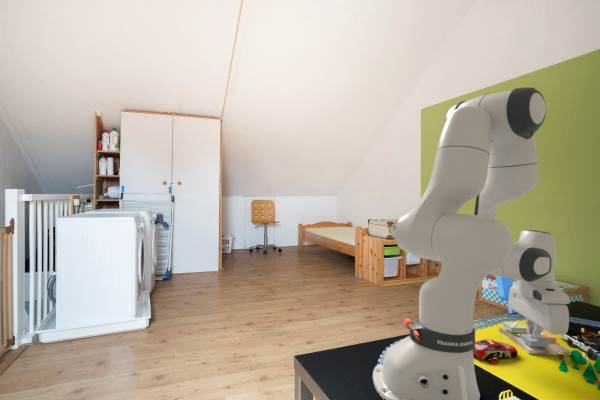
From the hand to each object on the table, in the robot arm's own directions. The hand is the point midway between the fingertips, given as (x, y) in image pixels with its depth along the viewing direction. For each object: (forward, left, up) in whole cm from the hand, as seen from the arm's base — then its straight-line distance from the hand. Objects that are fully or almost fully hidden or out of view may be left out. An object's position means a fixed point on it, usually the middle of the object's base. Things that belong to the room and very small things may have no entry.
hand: (534, 336), depth 93 cm
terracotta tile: (+5, +4, -2) cm, 7 cm away
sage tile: (0, +9, -2) cm, 9 cm away
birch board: (+2, +4, -4) cm, 6 cm away
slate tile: (0, 0, -2) cm, 2 cm away
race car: (-13, -5, -4) cm, 15 cm away
